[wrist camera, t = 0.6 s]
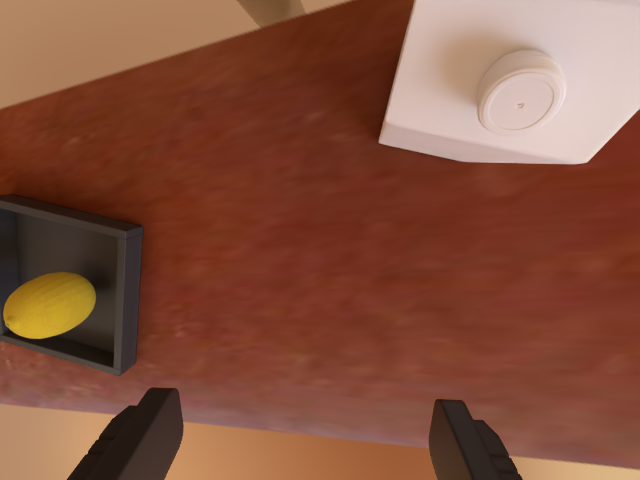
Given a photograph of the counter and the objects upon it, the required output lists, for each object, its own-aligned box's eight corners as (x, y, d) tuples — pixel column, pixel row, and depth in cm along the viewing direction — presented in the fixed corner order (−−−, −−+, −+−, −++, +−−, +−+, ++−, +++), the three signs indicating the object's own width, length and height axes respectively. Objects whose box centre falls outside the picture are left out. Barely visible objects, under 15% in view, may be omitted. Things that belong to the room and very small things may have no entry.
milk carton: (402, 47, 25) (486, -274, 6) (498, 65, 24) (898, -237, 6) (377, 143, 27) (389, 107, 8) (466, 162, 26) (691, 169, 8)
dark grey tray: (11, 194, 33) (-15, 196, 31) (143, 226, 32) (126, 231, 29) (18, 329, 37) (-5, 339, 35) (135, 363, 36) (120, 376, 34)
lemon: (63, 258, 34) (-28, 288, 26) (112, 265, 33) (33, 297, 25) (69, 308, 35) (-16, 349, 27) (116, 315, 34) (42, 360, 27)
